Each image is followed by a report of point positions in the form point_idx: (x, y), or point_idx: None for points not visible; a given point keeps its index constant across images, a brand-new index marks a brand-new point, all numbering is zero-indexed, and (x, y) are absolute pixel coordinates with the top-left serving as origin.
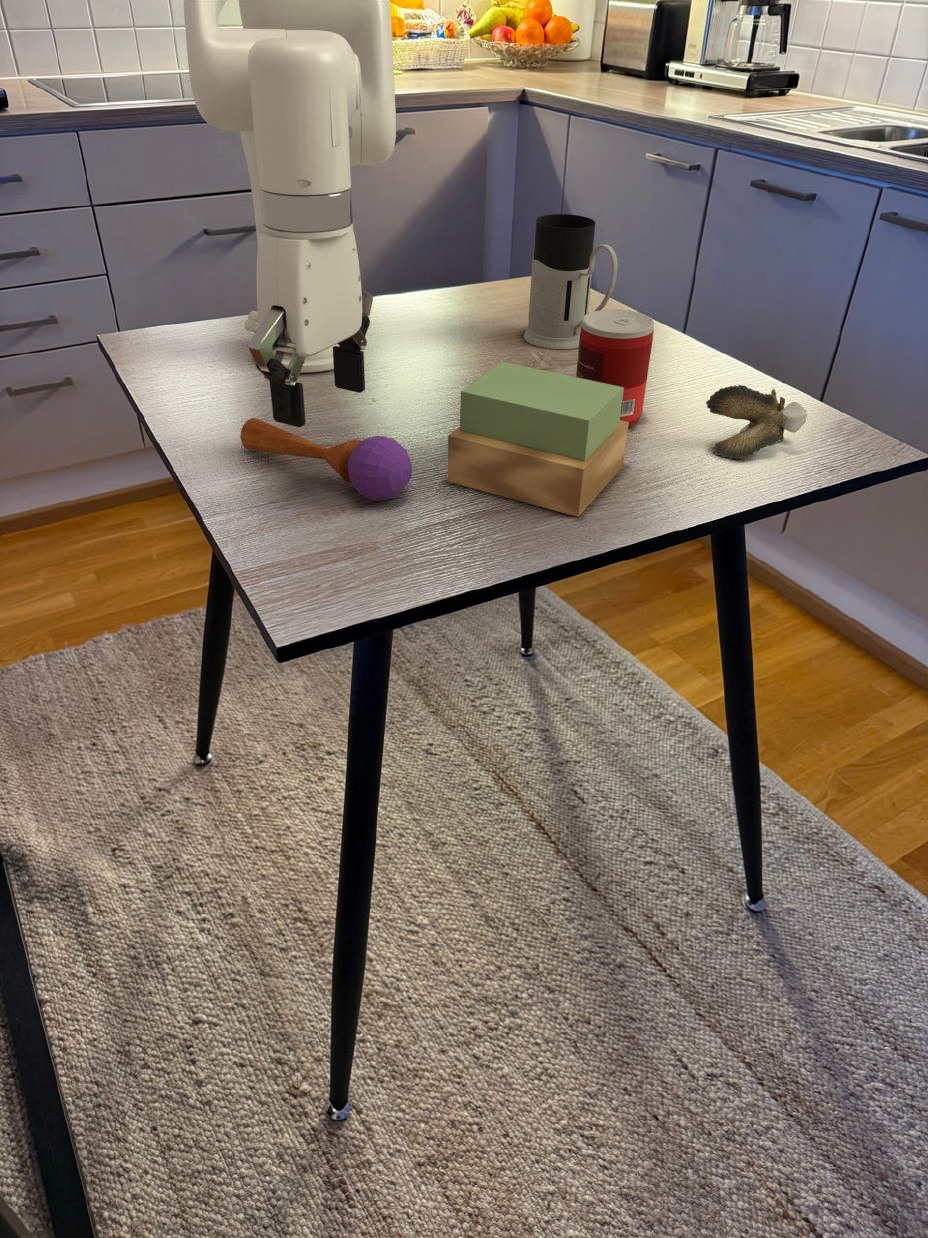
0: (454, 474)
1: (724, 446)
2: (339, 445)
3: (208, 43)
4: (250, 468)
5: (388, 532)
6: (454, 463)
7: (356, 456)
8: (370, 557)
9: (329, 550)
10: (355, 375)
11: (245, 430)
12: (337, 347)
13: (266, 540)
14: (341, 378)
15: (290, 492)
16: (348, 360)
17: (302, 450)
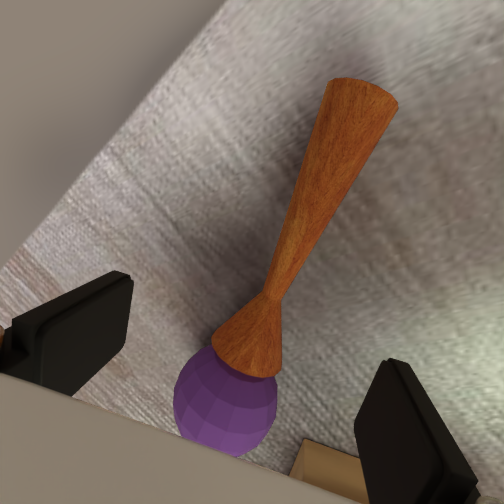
0: (300, 459)
1: None
2: (245, 340)
3: None
4: (271, 138)
5: (157, 384)
6: (299, 476)
7: (185, 389)
8: (104, 374)
9: None
10: (365, 458)
11: (332, 91)
12: (452, 489)
13: (88, 253)
14: (382, 399)
15: (212, 239)
16: (391, 487)
17: (276, 248)
